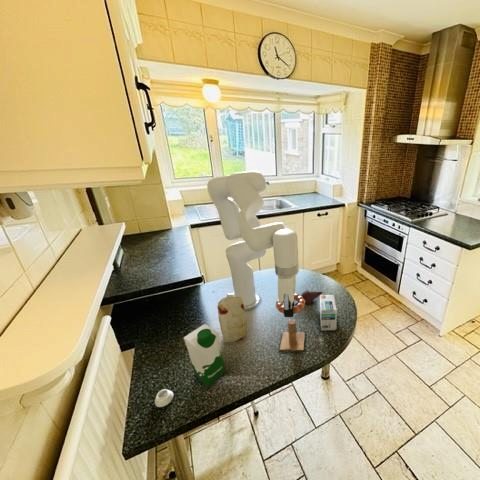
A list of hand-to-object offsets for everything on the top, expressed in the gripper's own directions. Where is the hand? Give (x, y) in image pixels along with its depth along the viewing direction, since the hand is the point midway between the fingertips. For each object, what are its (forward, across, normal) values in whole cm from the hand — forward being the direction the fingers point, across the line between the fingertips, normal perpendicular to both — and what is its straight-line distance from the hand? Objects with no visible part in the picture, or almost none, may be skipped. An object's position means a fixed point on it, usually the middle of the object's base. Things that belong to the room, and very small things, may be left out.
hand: (289, 312), depth 90 cm
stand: (+19, -4, 0) cm, 19 cm away
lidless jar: (+19, +19, -38) cm, 46 cm away
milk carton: (+19, +10, -27) cm, 34 cm away
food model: (+19, -6, -23) cm, 30 cm away
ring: (-1, -4, 0) cm, 4 cm away
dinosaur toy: (+19, -29, +5) cm, 35 cm away
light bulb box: (+19, -16, +14) cm, 29 cm away
